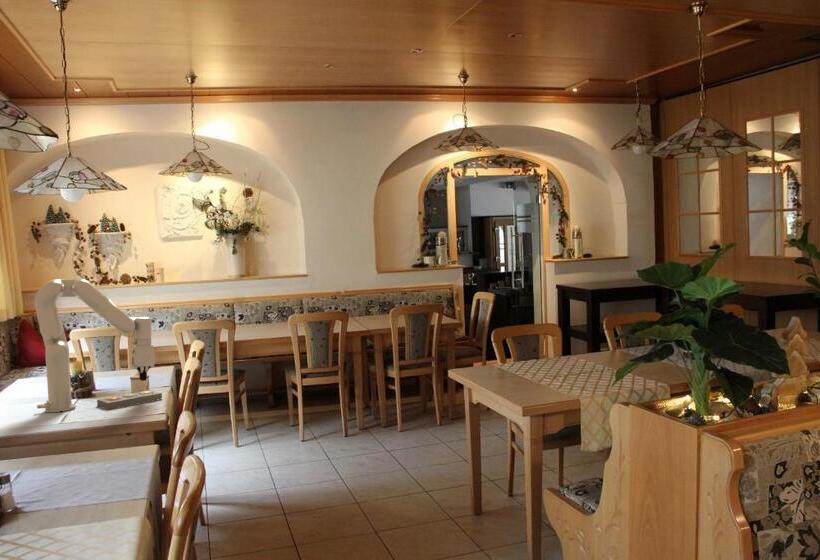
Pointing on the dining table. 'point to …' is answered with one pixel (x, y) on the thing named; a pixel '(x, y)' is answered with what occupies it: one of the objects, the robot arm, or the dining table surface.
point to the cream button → (146, 392)
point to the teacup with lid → (139, 383)
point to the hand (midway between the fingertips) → (143, 380)
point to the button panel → (128, 400)
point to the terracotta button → (113, 398)
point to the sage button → (129, 395)
